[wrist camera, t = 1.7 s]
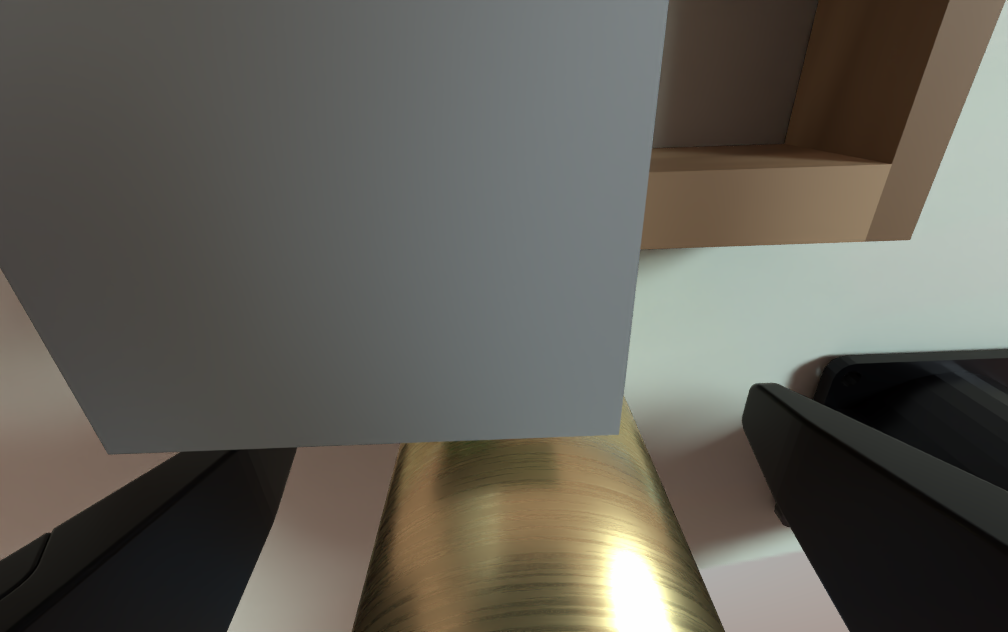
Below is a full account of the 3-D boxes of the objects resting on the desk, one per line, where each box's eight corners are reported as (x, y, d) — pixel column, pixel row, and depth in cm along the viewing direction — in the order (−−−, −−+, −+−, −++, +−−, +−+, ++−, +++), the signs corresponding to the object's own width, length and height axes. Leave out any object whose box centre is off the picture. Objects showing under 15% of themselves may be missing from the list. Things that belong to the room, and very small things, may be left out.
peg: (589, 248, 11) (853, 688, 3) (581, 383, 13) (732, 879, 5) (426, 255, 11) (245, 714, 3) (441, 388, 13) (355, 898, 5)
